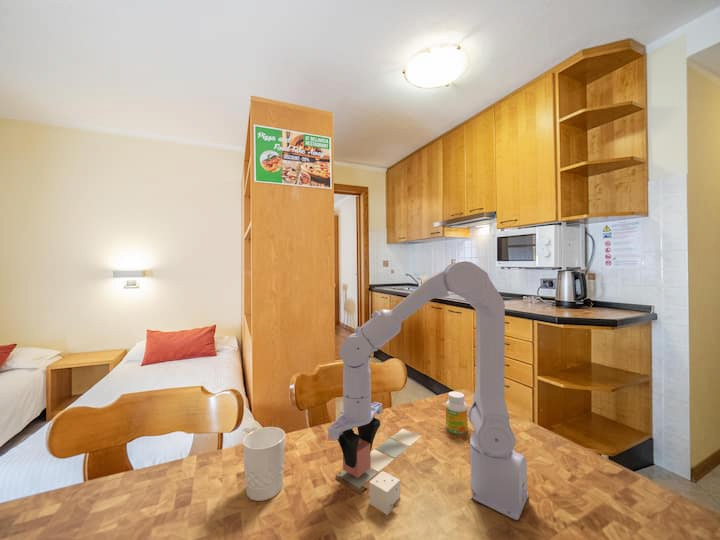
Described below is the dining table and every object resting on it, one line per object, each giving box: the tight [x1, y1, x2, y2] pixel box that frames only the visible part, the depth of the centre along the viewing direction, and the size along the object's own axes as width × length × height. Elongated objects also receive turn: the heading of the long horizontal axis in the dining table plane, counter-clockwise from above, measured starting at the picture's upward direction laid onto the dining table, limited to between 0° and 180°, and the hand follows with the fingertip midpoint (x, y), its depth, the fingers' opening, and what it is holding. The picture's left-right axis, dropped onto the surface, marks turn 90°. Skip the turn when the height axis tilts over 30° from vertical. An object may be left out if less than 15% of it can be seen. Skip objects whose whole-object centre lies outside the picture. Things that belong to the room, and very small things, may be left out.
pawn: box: [342, 438, 372, 478], centre depth 61 cm, size 4×4×7 cm
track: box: [335, 428, 422, 495], centre depth 68 cm, size 7×24×1 cm, turn 139°
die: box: [368, 470, 401, 516], centre depth 54 cm, size 4×4×4 cm
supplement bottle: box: [445, 391, 469, 435], centre depth 78 cm, size 5×5×10 cm
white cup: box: [242, 426, 286, 502], centre depth 58 cm, size 8×8×10 cm
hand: (357, 459), depth 61 cm, fingers closed on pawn, 4 cm apart
